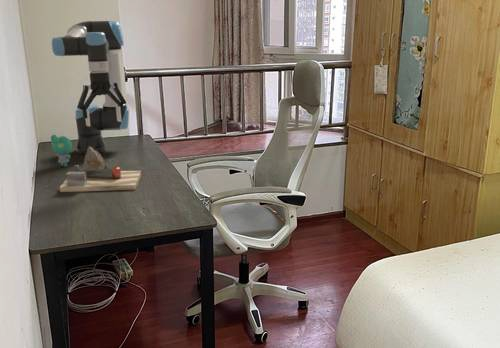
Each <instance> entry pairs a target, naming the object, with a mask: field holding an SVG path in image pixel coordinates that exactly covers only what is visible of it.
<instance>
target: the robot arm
mask: <svg viewBox="0 0 500 348" xmlns="http://www.w3.org/2000/svg"><path fill="white" fill-rule="evenodd" d="M123 35H124V34H123V32H122V28H121V25H120V23H119V22H118V21H117V20H116V21H115V20H114V21H113V20H98V21H97V20H96V21H95V20H94V21H93V20H91V21H90V20H85V21H82V22H79V23H76V24H74V25H72V26H70V27H69V28H68V30H67V32H66V34H65V35H64V36H56V37H53V38H52V40H51V48H52V53H53V55H54V56H56V57H64V56H65V57H68V56H69V57H71V56H72V57H73V56H87V59H88V60H87V62H88V63H87V64H88V71H89V81H90V85H85V84H83V85H82V92H81V95H80V97H79V100H78V102H77V106H76V107H77V108H76V110H75V121H76V128H77V141H76V145H75V152H76V153H77V154H80V155H86V152H87V149H88V147H92V148H93V149H94V150H96V151H97V152H98V153H100V154H101V153H103V152H106V150H107V144H106V141H105V140H104V138H103V136H102V131H120V130H121V131H122V130H127V129H128V128H129V122H130V107H129V106H127V101H126V100H125V98H124V95H123V90H122V89H123V88H122V78H121V77H122V75H121V66H120V56H119V55H120V54H119V52H120V51H121V50H122V47H123V46H124V45H125V41H124V36H123ZM90 90H91V92H90V93H89V91H90ZM88 94H89V96H87V95H88ZM97 96H104V102H103V103H102V107H99V105H98V104H92V102H93V101H94V100H95V98H97Z"/></svg>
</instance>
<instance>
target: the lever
mask: <svg viewBox="0 0 500 348" xmlns="http://www.w3.org/2000/svg"><path fill="white" fill-rule="evenodd" d="M79 171H80V172H86V177H89V178H113V179H119V178H121V171H122V170H121V167H120V166H113V167H111V168H110V169H109V168H108V169H105V168H103V169H88V168H79Z"/></svg>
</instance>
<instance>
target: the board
mask: <svg viewBox="0 0 500 348" xmlns="http://www.w3.org/2000/svg"><path fill="white" fill-rule="evenodd" d="M104 169H109V166H108V164H105V165H104ZM73 170H74V171H67V173H65V180H64V181H63V183H62V184H61V185H60V186H59V192H60V193H66V192H67V193H68V192H69V193H73V192H95V191H96V192H98V191H99V192H100V191H102V192H103V191H125V190H126V191H127V190H128V191H129V190H131V191H133V190H137V187H138V184H139V182H140V179H141V177H142V170H121V178H119V179H113V178H89V177H86V172H80V165H79V164H74V165H73Z"/></svg>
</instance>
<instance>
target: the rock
mask: <svg viewBox="0 0 500 348" xmlns="http://www.w3.org/2000/svg"><path fill="white" fill-rule="evenodd" d="M84 155H85V156H84V161H83V164H82V167H83V168H88V169H105V165H106V163H105V160H104V158H103V156H102V154H101V153H98V152H97V151H96V150H94V149H93V148H92V147H88V149H87V152H86V154H84Z"/></svg>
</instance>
